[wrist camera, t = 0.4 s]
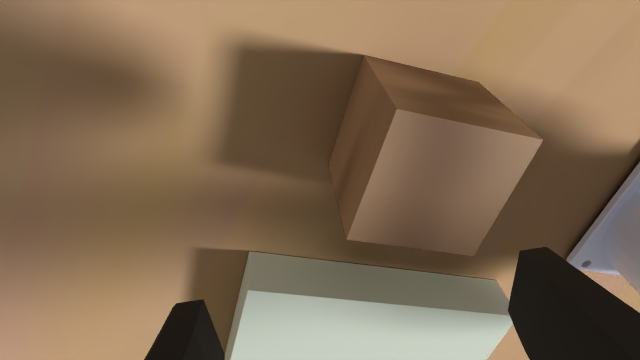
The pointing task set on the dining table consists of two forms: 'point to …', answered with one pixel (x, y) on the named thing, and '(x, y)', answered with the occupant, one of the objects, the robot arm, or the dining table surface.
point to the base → (362, 313)
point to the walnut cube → (425, 159)
